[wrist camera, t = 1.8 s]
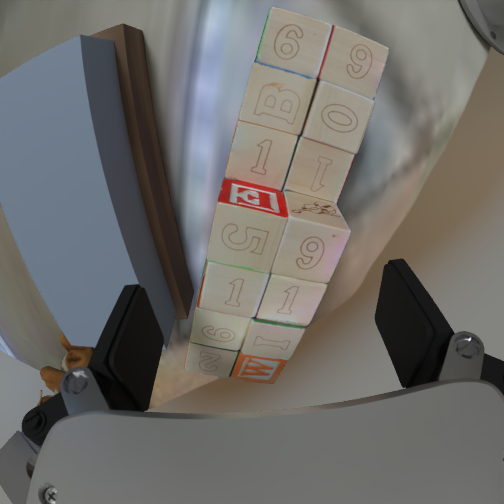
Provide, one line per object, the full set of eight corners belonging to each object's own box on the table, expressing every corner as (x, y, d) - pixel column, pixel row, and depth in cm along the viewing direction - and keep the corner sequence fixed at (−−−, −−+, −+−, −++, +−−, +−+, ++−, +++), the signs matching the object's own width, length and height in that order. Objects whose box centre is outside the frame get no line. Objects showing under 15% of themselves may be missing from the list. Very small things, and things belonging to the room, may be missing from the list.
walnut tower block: (144, 31, 18) (122, 23, 14) (194, 288, 31) (187, 318, 27) (33, 76, 18) (3, 81, 15) (98, 293, 31) (83, 319, 28)
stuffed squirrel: (60, 324, 34) (20, 400, 23) (147, 371, 38) (127, 453, 27) (53, 356, 38) (24, 421, 27) (128, 395, 43) (110, 464, 31)
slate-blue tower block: (113, 40, 14) (79, 34, 11) (176, 312, 27) (166, 349, 23) (13, 87, 15) (-25, 96, 11) (88, 313, 27) (71, 345, 23)
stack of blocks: (264, 33, 18) (276, -17, 7) (343, 58, 19) (425, 45, 8) (204, 267, 29) (182, 373, 18) (267, 280, 30) (273, 388, 19)
